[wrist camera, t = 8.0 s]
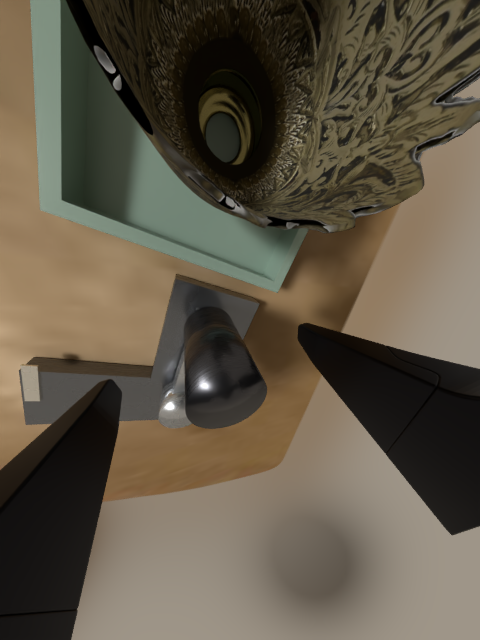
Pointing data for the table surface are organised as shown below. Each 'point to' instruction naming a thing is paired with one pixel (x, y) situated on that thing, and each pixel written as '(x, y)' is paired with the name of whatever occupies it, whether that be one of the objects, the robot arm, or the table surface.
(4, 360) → the table surface
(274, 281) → the tray
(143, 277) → the table surface
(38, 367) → the grey l-bracket
